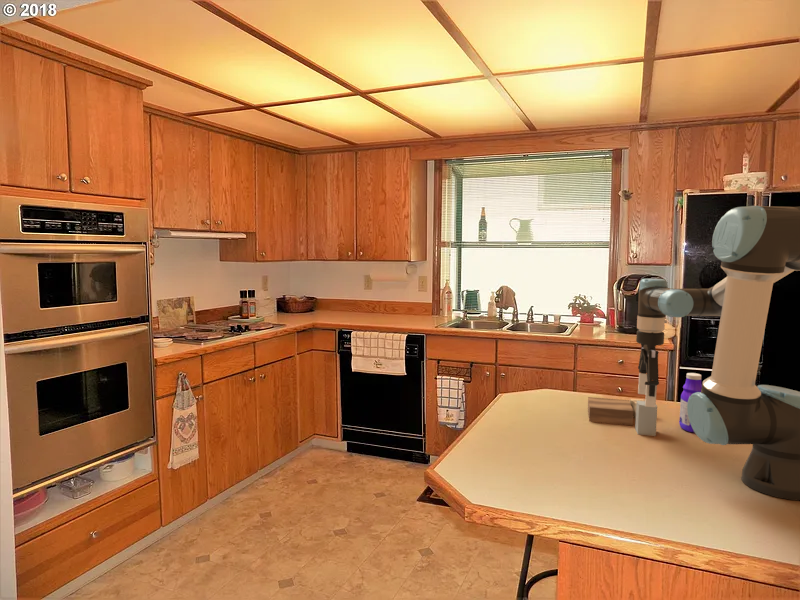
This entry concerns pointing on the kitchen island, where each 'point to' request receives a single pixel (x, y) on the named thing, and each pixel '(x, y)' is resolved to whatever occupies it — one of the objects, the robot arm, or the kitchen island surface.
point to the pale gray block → (645, 419)
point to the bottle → (689, 388)
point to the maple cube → (633, 404)
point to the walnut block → (610, 411)
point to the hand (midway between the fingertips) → (646, 400)
